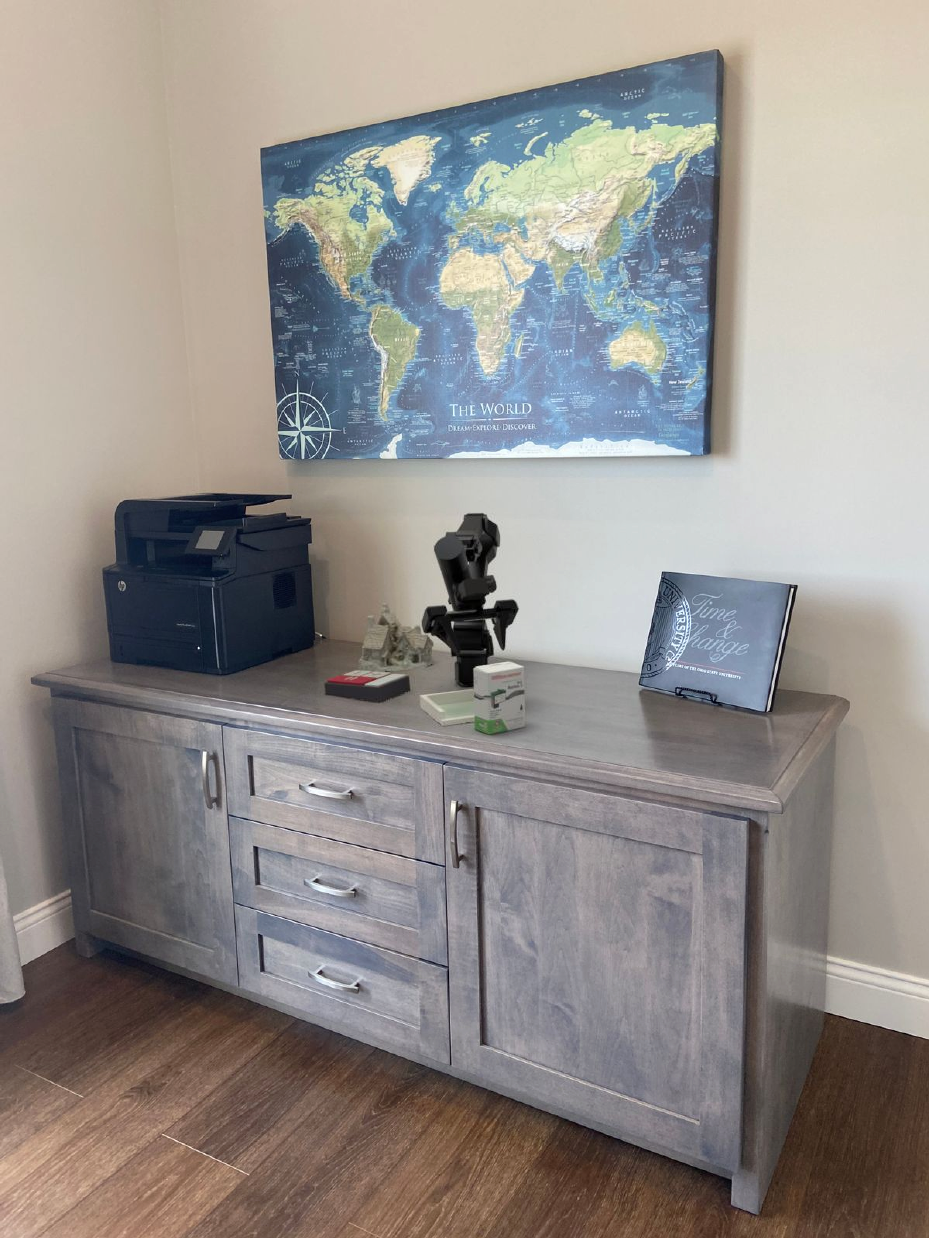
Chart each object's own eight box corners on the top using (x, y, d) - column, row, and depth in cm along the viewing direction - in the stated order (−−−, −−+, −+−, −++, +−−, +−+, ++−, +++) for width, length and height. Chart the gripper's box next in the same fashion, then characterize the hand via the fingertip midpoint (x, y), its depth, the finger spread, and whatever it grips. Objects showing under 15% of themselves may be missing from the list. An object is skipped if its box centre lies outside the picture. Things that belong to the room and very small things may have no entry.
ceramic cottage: (348, 668, 222) (349, 606, 220) (391, 657, 236) (393, 598, 233) (398, 680, 214) (400, 616, 211) (441, 668, 227) (444, 607, 224)
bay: (480, 699, 192) (480, 687, 192) (506, 717, 180) (506, 705, 179) (420, 707, 188) (419, 695, 188) (442, 726, 175) (441, 713, 175)
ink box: (488, 735, 169) (487, 672, 167) (473, 729, 173) (471, 667, 171) (526, 726, 174) (525, 664, 171) (511, 720, 178) (509, 660, 175)
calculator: (355, 668, 209) (409, 672, 201) (357, 687, 209) (411, 691, 201) (323, 679, 200) (378, 683, 192) (324, 699, 200) (379, 704, 192)
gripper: (423, 565, 178) (443, 632, 169) (514, 558, 184) (537, 623, 175) (413, 600, 186) (432, 665, 178) (500, 592, 192) (522, 655, 184)
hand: (481, 651), depth 179 cm, fingers open, 9 cm apart
